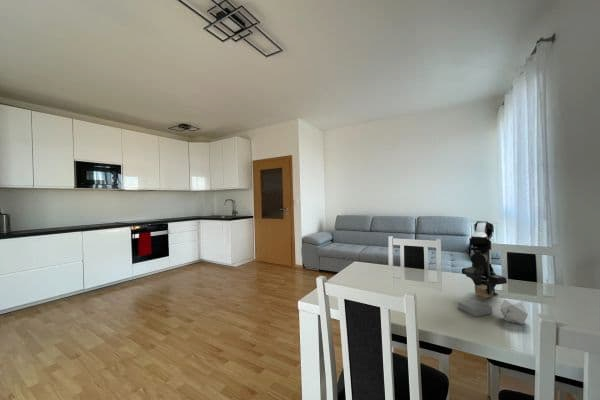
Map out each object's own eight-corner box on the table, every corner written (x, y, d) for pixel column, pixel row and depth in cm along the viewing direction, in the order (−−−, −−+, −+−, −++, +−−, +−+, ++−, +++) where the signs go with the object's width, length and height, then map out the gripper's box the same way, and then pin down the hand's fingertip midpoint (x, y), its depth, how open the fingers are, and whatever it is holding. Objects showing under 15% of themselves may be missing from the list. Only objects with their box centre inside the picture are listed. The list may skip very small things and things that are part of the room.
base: (473, 305, 112) (473, 298, 112) (492, 313, 103) (491, 306, 103) (458, 307, 110) (457, 301, 110) (475, 316, 101) (475, 309, 102)
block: (483, 292, 117) (482, 284, 117) (493, 296, 112) (492, 287, 112) (475, 293, 116) (474, 285, 116) (484, 297, 111) (484, 289, 111)
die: (495, 316, 102) (493, 303, 97) (510, 304, 102) (509, 291, 98) (517, 332, 94) (516, 319, 90) (534, 319, 95) (533, 305, 90)
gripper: (451, 258, 122) (454, 288, 121) (486, 267, 103) (489, 302, 103) (469, 256, 124) (471, 285, 123) (506, 265, 105) (509, 299, 105)
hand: (483, 292), depth 114 cm, fingers closed on block, 5 cm apart
